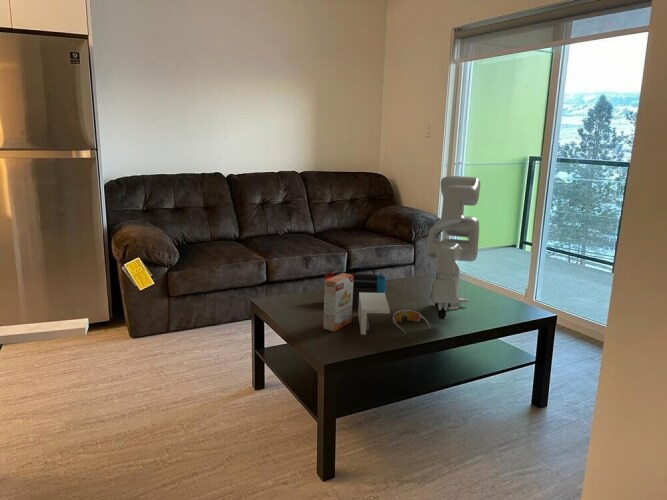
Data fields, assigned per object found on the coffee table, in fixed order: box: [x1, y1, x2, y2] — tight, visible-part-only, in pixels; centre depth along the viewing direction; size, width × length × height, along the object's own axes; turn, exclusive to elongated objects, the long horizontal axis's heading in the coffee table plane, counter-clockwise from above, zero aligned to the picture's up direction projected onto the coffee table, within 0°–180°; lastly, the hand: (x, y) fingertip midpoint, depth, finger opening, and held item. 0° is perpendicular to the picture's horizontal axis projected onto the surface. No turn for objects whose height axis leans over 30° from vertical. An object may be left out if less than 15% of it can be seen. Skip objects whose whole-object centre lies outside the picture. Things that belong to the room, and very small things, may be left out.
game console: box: [324, 271, 387, 307], centre depth 244 cm, size 28×6×15 cm, turn 84°
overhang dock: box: [357, 292, 391, 336], centre depth 219 cm, size 11×22×10 cm, turn 0°
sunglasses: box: [392, 309, 430, 334], centre depth 219 cm, size 14×15×5 cm
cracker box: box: [322, 272, 354, 332], centre depth 215 cm, size 14×6×21 cm, turn 148°
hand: (441, 318), depth 218 cm, fingers closed
